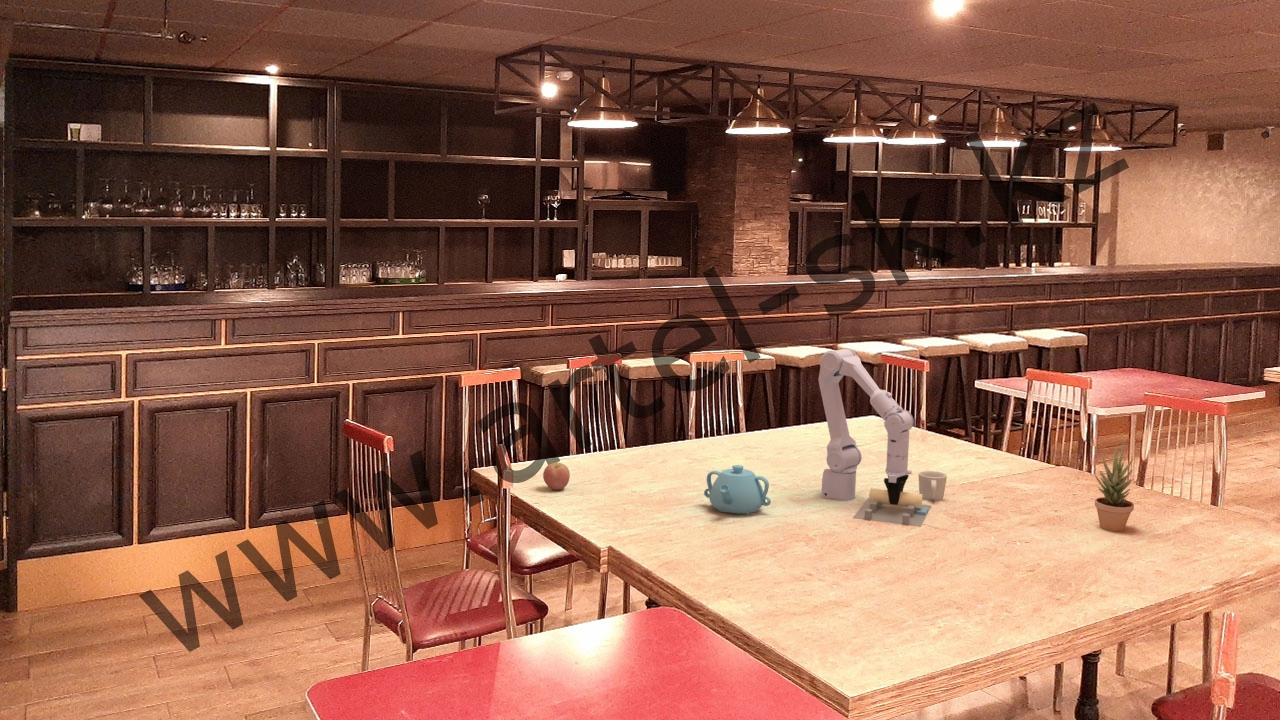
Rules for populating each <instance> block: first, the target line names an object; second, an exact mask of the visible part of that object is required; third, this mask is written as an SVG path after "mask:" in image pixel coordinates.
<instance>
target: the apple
mask: <svg viewBox="0 0 1280 720" xmlns="http://www.w3.org/2000/svg"><path fill="white" fill-rule="evenodd" d="M570 476H571V474H570V470H569V468H568V466H567V465H566V464H564V463H562V462H552V463H550V464H548V465H546V467H545V468H544V470H543V473H542V478H543V481H544V483H545V484H546V486H547V487H548V488H550V489H552V490H555V491H561V490H563V489H565V488H566V487H567V485H568V484H569V482H570Z"/></svg>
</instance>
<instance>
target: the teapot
mask: <svg viewBox="0 0 1280 720" xmlns="http://www.w3.org/2000/svg"><path fill="white" fill-rule="evenodd" d="M712 475H717V477H716V479H715V480H714V482H713V483H712ZM760 481H762V482H763V484H764V489H763V486H762V484H761V482H760ZM706 485H707V488H706V489H704V491H703V495H704V496H705V497H706V498H707V499H709V502H710V503H711V505H712V506H713V507H714V509H715V510H718V512H720V513H730V514H738V515H740V514H741V516H747V515H748V514H749V513H754V512H755V513H756V512H757V511H758V510H760V508H761V507H762V506H764V507H768V506H770V505H771V503H772V500H771V497H769V496H767V495H768V491H769V488H770V483H769V481H768V479H767V478H766V477H764V476H763V475H762V476H760V475H759V476H757V475H756V474H755V472H753V471H752V470H748V469H744V466H743V465H741V464H734V465H732V468H728V469H723V470H722V471H719V470H711V471H709V473H707V475H706ZM766 501H767V502H766Z"/></svg>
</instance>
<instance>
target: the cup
mask: <svg viewBox="0 0 1280 720" xmlns="http://www.w3.org/2000/svg"><path fill="white" fill-rule="evenodd" d="M947 478H948V475H947V474H946V473H944V472H942V471H938V470H937V471H935V470H922V471H919V472H918V490H919V491H918V492H919V493H918V494H922V500H925V501H926V500H927V501H941V502H942V501H943V500H944V496H945V490H946V484H947Z"/></svg>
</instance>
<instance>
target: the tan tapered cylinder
mask: <svg viewBox="0 0 1280 720" xmlns="http://www.w3.org/2000/svg"><path fill="white" fill-rule="evenodd" d="M868 498H869V502H870V503H871V502H872V501H878V504H886V505H894V504H890V502H889V496H888V491H887V489H880V488H872V487H871V488H869V493H868ZM909 505H914V506H915V508H921V506H922V505H923V499H922V494H919V493H915V492H906V491H903V492H901V493H900V498H899V502H898V504H897V505H895V506H904V507H908V506H909Z"/></svg>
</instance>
